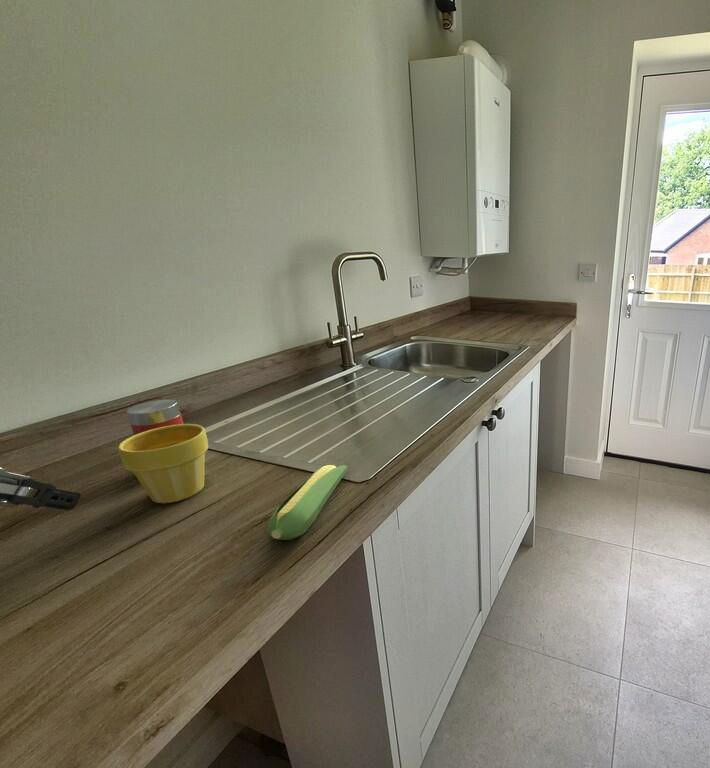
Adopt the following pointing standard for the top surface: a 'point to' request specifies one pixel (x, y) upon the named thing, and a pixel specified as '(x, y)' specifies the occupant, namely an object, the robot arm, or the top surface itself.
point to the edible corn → (305, 503)
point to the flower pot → (167, 461)
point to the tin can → (154, 415)
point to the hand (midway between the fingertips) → (72, 501)
